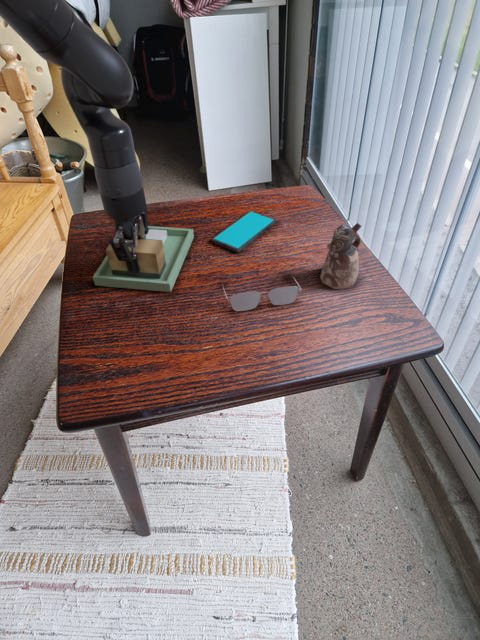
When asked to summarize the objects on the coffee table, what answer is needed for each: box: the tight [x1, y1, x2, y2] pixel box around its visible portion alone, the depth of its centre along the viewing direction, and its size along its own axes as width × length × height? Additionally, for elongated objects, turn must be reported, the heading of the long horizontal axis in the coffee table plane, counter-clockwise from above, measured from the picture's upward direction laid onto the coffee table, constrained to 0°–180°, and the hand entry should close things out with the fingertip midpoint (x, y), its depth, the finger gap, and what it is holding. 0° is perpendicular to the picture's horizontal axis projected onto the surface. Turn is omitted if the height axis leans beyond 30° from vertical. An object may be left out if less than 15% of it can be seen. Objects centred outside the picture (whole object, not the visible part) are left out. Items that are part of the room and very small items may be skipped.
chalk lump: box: [146, 229, 167, 244], centre depth 93 cm, size 4×4×2 cm
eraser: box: [105, 236, 166, 279], centre depth 84 cm, size 10×4×6 cm, turn 81°
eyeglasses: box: [221, 273, 302, 312], centre depth 80 cm, size 14×8×4 cm, turn 102°
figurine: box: [319, 222, 362, 290], centre depth 80 cm, size 7×7×12 cm
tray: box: [92, 225, 195, 293], centre depth 89 cm, size 16×20×2 cm
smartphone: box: [211, 210, 276, 253], centre depth 96 cm, size 7×1×15 cm
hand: (138, 264), depth 85 cm, fingers closed on eraser, 4 cm apart
